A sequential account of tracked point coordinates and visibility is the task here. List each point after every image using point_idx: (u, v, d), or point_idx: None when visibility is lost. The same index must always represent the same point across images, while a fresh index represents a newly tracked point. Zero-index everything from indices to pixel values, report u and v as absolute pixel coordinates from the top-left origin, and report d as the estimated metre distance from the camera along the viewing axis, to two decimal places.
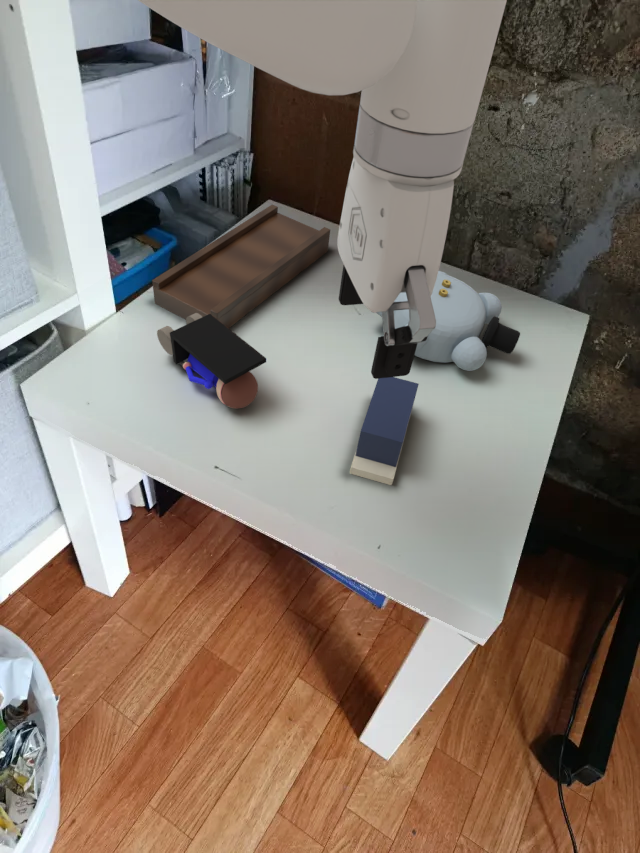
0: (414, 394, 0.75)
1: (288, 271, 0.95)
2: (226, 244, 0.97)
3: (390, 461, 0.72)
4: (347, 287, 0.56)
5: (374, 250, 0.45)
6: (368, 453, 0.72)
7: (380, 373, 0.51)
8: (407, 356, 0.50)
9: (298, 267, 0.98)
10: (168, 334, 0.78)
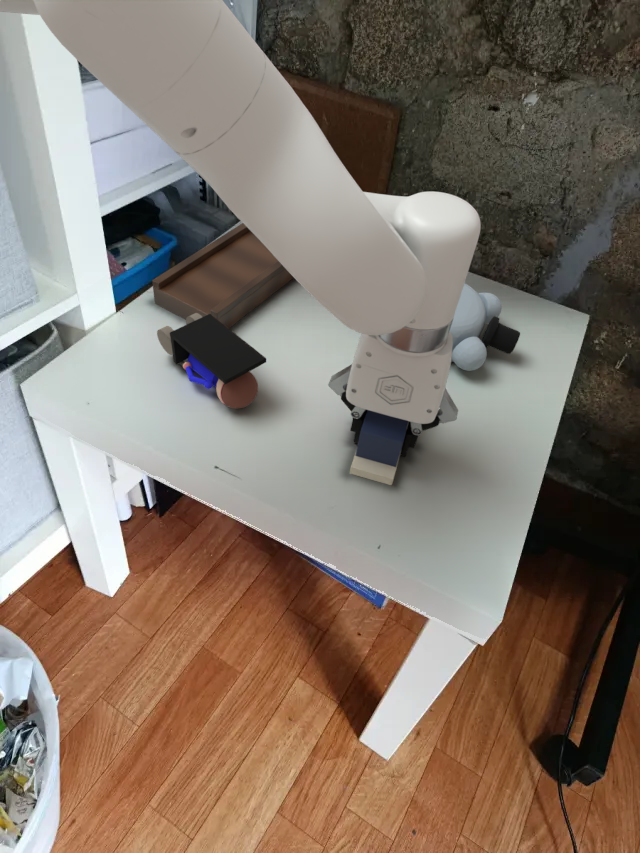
0: None
1: None
2: (226, 244, 0.97)
3: (390, 461, 0.72)
4: None
5: (428, 392, 0.66)
6: (368, 453, 0.72)
7: None
8: None
9: None
10: (168, 334, 0.78)
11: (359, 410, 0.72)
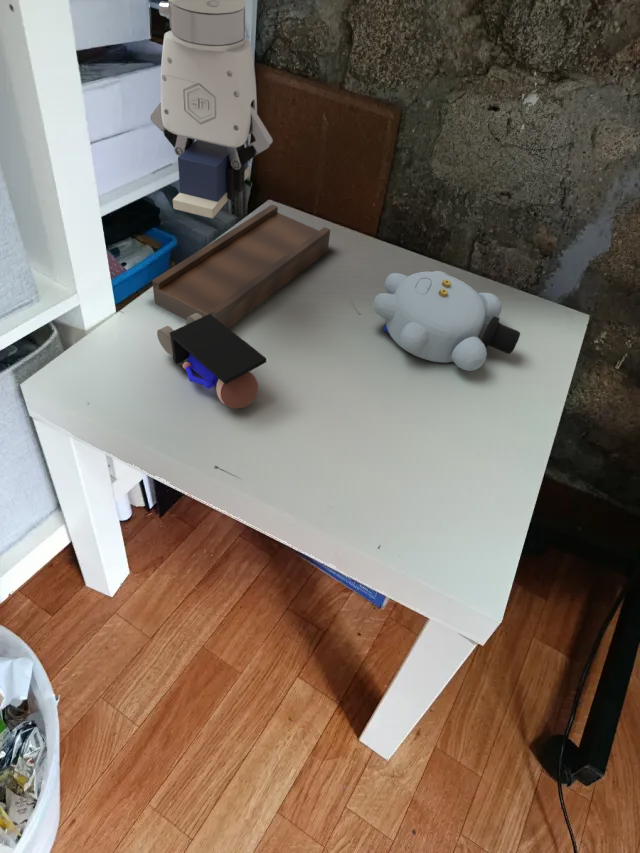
0: None
1: (288, 271, 0.95)
2: (226, 244, 0.97)
3: (211, 194, 0.75)
4: None
5: (229, 102, 0.68)
6: (190, 187, 0.75)
7: (233, 195, 0.78)
8: (244, 173, 0.77)
9: (298, 267, 0.98)
10: (168, 334, 0.78)
11: (181, 144, 0.75)
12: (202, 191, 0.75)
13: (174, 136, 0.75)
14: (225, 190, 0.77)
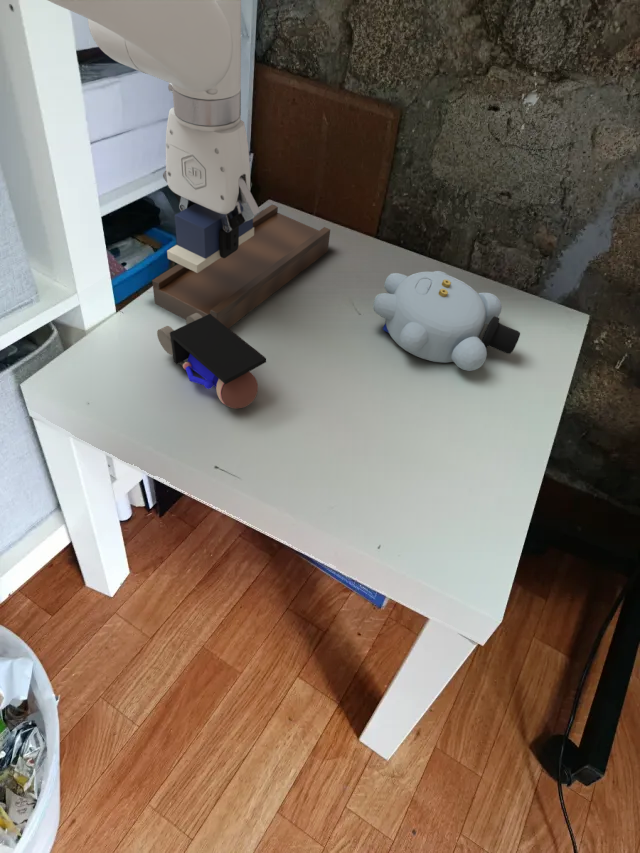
0: None
1: (288, 271, 0.95)
2: None
3: (200, 251, 0.81)
4: None
5: (217, 175, 0.74)
6: (184, 242, 0.82)
7: (226, 253, 0.84)
8: (237, 235, 0.83)
9: (298, 267, 0.98)
10: (168, 334, 0.78)
11: (184, 203, 0.82)
12: (193, 247, 0.82)
13: None
14: (217, 248, 0.83)
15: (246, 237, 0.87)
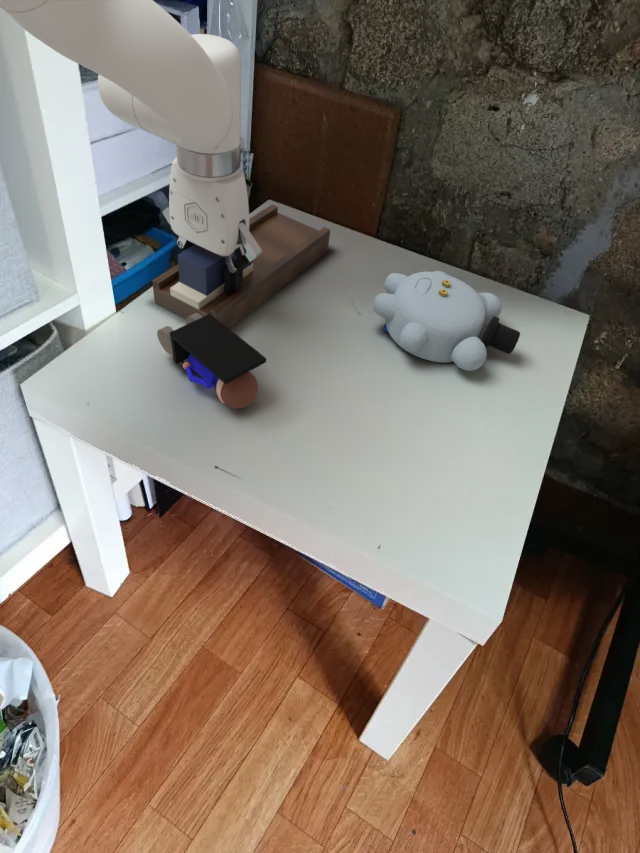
0: None
1: (288, 271, 0.95)
2: None
3: (202, 289, 0.86)
4: None
5: (218, 221, 0.79)
6: (186, 279, 0.86)
7: (230, 291, 0.88)
8: (242, 274, 0.87)
9: (298, 267, 0.98)
10: (168, 334, 0.78)
11: (182, 240, 0.86)
12: (195, 285, 0.86)
13: None
14: (218, 285, 0.87)
15: (245, 273, 0.92)
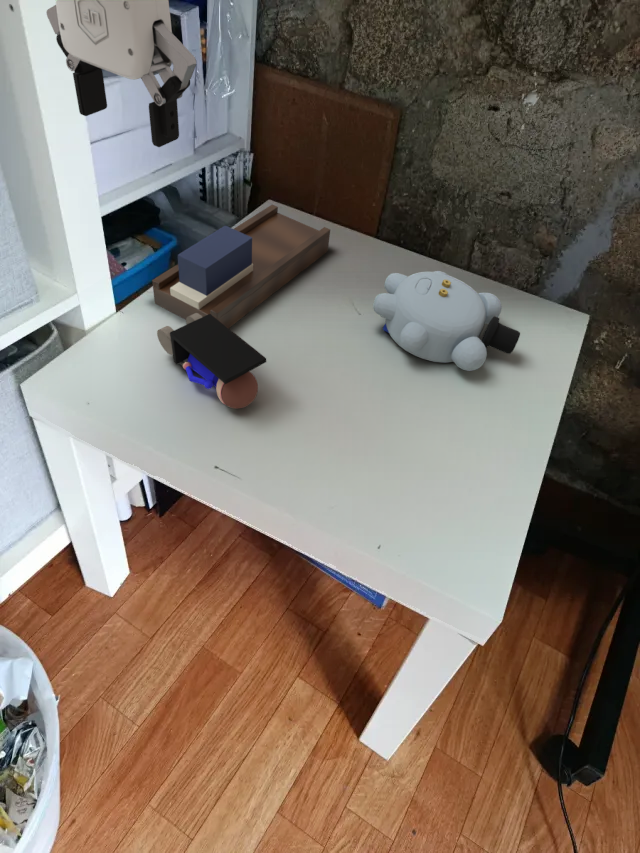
0: (242, 243, 0.88)
1: (288, 271, 0.95)
2: None
3: (202, 289, 0.86)
4: (84, 95, 0.63)
5: (120, 16, 0.53)
6: (186, 279, 0.86)
7: (160, 140, 0.61)
8: (176, 114, 0.61)
9: (298, 267, 0.98)
10: (168, 334, 0.78)
11: (74, 59, 0.61)
12: (195, 285, 0.86)
13: None
14: (218, 285, 0.87)
15: (245, 273, 0.92)
